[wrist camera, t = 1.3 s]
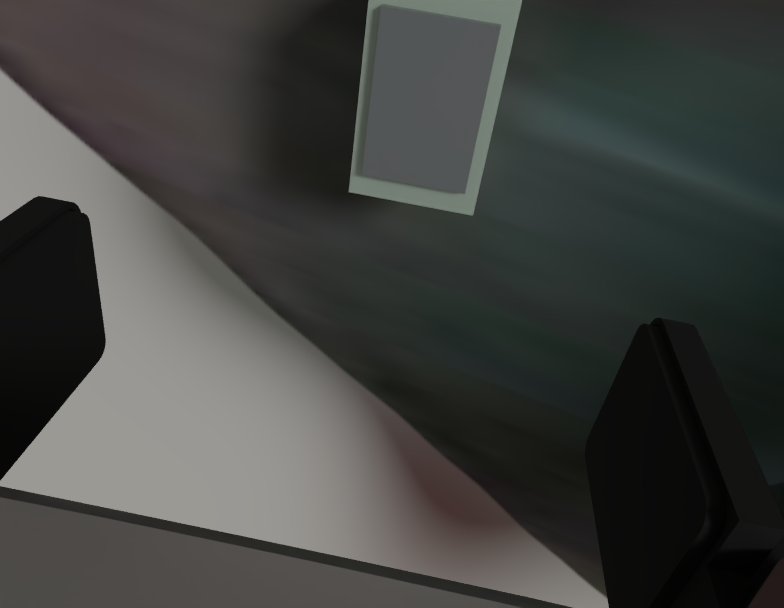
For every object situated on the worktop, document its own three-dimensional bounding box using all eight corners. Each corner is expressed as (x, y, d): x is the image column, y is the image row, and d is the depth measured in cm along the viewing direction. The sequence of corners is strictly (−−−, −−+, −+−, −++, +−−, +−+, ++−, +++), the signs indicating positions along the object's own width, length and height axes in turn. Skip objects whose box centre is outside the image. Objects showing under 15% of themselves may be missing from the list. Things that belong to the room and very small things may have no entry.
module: (520, -32, 26) (523, -4, 20) (479, 152, 31) (472, 219, 25) (401, -52, 27) (369, -31, 21) (378, 133, 31) (346, 196, 25)
